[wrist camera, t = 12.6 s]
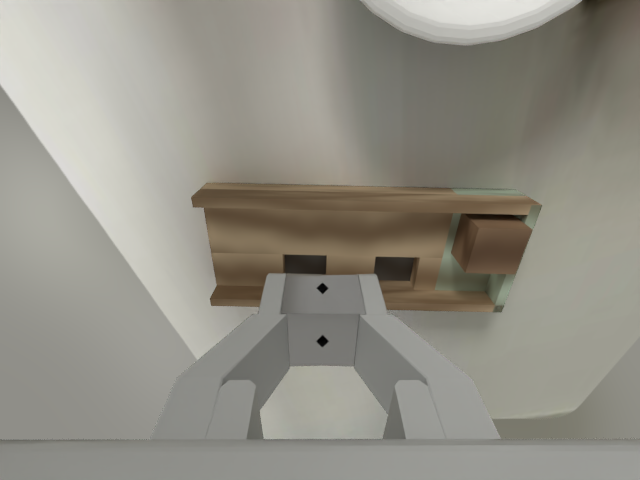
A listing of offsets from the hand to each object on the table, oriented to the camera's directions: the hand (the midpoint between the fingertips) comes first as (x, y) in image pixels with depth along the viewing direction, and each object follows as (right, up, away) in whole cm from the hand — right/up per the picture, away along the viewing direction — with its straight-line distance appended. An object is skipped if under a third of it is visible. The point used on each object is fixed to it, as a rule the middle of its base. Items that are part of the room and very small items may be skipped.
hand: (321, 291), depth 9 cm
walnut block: (+17, +2, +24) cm, 30 cm away
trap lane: (+4, +2, +27) cm, 28 cm away
